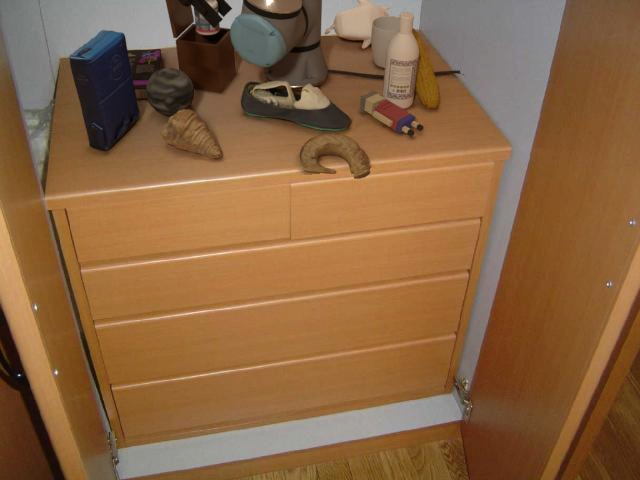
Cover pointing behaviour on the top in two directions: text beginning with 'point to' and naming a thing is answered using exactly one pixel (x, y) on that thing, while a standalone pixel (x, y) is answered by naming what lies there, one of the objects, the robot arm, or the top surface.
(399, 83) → the bath foam
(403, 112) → the toy
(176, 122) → the seashell
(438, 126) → the top surface
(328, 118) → the ballet flat
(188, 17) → the lid
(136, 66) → the box
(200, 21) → the pill bottle
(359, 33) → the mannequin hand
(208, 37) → the chest
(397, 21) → the mug
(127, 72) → the blue rectangular carton
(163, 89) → the decorative stone
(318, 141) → the artifact
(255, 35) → the robot arm
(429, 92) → the food
